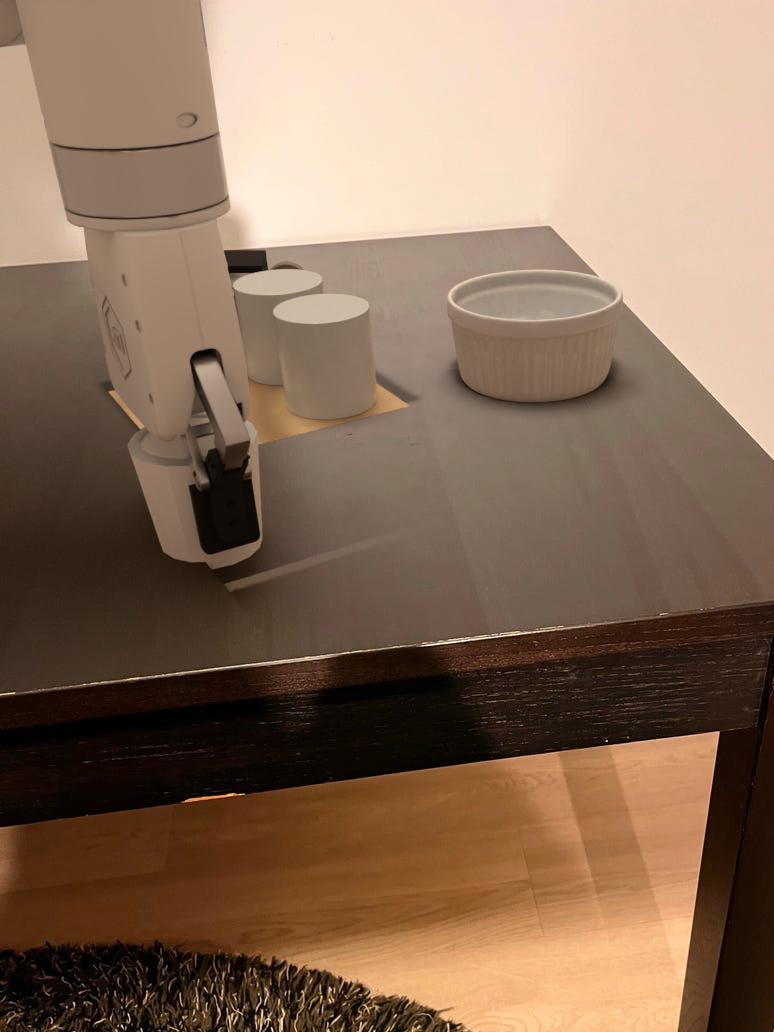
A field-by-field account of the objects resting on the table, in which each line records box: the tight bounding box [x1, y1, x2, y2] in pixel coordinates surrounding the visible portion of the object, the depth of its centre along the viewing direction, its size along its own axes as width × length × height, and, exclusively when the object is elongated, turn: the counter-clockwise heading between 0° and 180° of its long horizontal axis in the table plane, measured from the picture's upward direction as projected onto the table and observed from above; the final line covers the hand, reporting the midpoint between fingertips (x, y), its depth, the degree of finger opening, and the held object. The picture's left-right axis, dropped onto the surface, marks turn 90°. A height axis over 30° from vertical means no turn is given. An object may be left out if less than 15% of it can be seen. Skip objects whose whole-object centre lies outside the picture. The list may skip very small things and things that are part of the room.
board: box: [107, 377, 411, 446], centre depth 77 cm, size 18×16×1 cm
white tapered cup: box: [126, 413, 263, 570], centre depth 56 cm, size 7×7×7 cm
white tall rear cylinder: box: [232, 269, 325, 386], centre depth 79 cm, size 7×7×7 cm
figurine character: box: [223, 249, 305, 311], centre depth 88 cm, size 7×8×15 cm
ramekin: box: [446, 269, 624, 403], centre depth 77 cm, size 13×13×7 cm
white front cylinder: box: [273, 293, 377, 420], centre depth 73 cm, size 7×7×7 cm
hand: (207, 514), depth 57 cm, fingers closed on white tapered cup, 6 cm apart
